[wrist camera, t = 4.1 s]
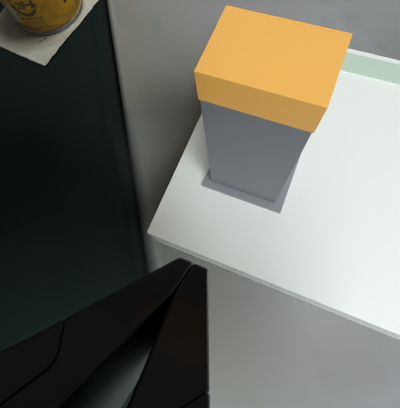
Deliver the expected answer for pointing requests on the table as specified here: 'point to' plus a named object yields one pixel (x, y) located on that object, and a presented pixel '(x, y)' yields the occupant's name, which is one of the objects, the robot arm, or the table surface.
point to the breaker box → (310, 206)
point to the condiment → (40, 25)
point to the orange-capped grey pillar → (264, 95)
